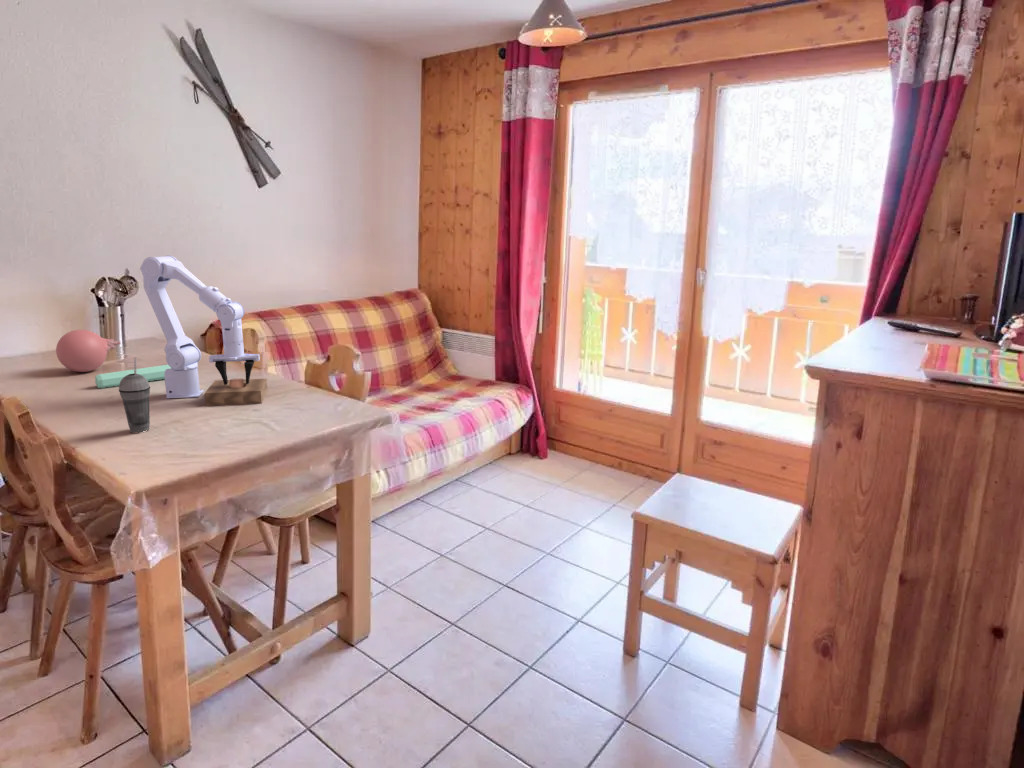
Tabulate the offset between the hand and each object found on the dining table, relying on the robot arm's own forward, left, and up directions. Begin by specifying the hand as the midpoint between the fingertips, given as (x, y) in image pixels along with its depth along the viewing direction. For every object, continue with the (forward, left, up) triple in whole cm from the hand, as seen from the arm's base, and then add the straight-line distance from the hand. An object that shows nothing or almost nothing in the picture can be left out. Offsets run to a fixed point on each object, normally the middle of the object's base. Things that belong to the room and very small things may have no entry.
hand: (236, 383), depth 203 cm
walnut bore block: (0, 0, -5) cm, 5 cm away
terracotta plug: (0, 0, -5) cm, 5 cm away
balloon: (-57, +47, -5) cm, 74 cm away
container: (-36, +26, -5) cm, 45 cm away
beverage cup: (-20, -30, -5) cm, 36 cm away
